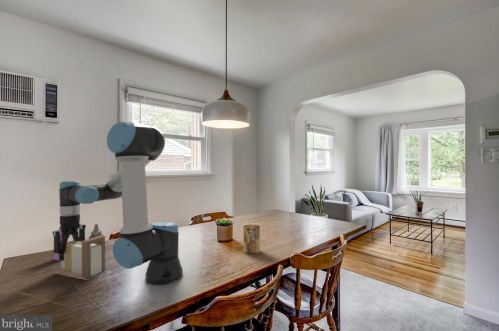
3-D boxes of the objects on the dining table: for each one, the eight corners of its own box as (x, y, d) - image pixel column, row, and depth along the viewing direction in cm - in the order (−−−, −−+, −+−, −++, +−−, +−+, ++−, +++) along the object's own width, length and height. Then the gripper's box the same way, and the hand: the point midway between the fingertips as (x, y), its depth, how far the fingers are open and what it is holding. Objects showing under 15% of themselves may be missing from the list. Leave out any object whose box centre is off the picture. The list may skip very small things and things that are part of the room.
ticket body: (105, 270, 109) (104, 236, 109) (86, 278, 101) (86, 241, 101) (86, 266, 113) (86, 233, 113) (67, 274, 105) (67, 238, 105)
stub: (82, 267, 112) (82, 241, 112) (71, 271, 107) (70, 244, 107) (73, 265, 114) (73, 239, 114) (61, 269, 109) (61, 243, 109)
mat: (111, 269, 110) (111, 269, 110) (86, 282, 99) (86, 281, 99) (75, 262, 118) (75, 261, 118) (47, 273, 107) (47, 272, 107)
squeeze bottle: (103, 255, 128) (103, 221, 128) (107, 259, 122) (107, 224, 122) (85, 259, 122) (85, 224, 122) (88, 264, 117) (88, 227, 116)
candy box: (259, 250, 136) (259, 223, 136) (259, 252, 131) (259, 225, 131) (243, 250, 135) (243, 223, 135) (243, 253, 131) (243, 225, 131)
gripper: (83, 210, 120) (83, 256, 120) (42, 217, 103) (42, 271, 103) (94, 211, 118) (94, 258, 118) (53, 219, 101) (54, 274, 101)
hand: (70, 264), depth 111 cm, fingers closed on stub, 5 cm apart
